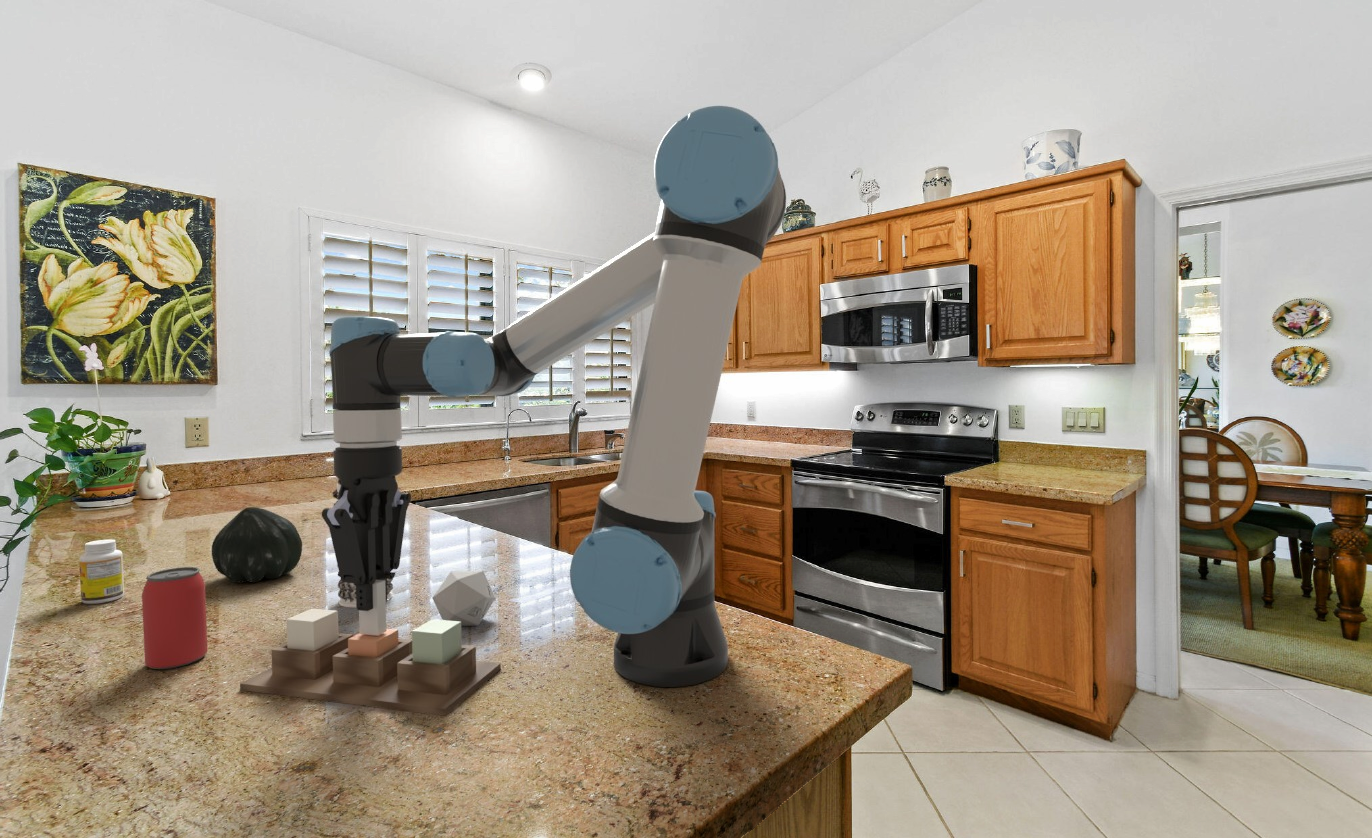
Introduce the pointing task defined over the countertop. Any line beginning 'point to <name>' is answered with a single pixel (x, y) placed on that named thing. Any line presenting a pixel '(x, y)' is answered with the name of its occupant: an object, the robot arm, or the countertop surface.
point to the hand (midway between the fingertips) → (373, 632)
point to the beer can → (174, 618)
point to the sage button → (436, 641)
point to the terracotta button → (373, 643)
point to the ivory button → (312, 629)
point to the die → (464, 597)
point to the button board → (373, 677)
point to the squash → (256, 546)
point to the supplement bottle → (101, 572)
